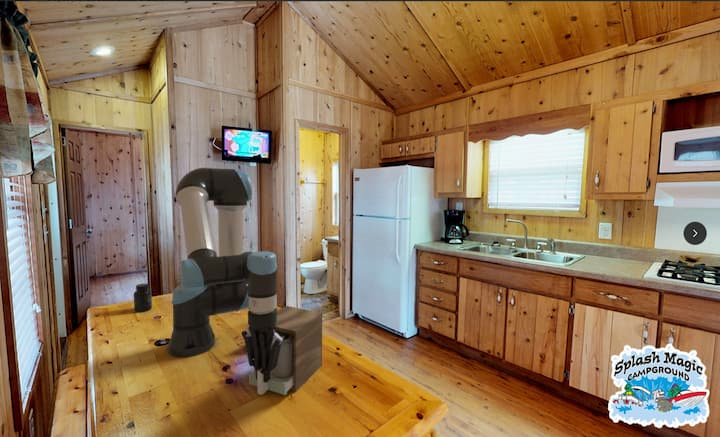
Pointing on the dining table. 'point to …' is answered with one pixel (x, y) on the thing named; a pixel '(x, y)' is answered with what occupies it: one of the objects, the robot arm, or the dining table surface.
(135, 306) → the supplement bottle
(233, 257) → the robot arm
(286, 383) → the tray
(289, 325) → the housing
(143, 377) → the dining table surface
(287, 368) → the can
